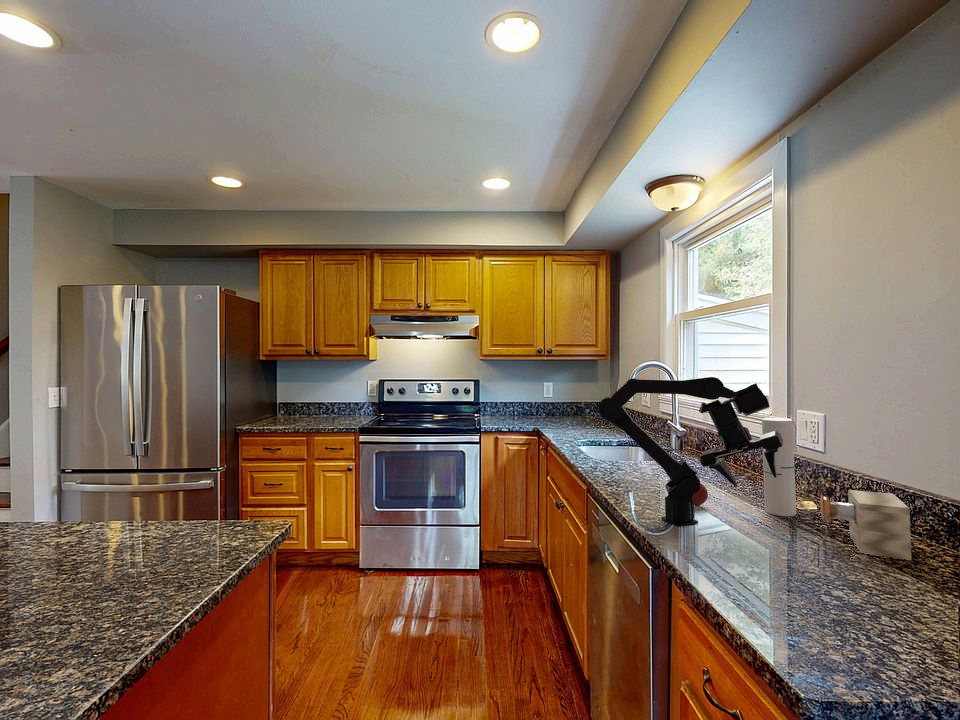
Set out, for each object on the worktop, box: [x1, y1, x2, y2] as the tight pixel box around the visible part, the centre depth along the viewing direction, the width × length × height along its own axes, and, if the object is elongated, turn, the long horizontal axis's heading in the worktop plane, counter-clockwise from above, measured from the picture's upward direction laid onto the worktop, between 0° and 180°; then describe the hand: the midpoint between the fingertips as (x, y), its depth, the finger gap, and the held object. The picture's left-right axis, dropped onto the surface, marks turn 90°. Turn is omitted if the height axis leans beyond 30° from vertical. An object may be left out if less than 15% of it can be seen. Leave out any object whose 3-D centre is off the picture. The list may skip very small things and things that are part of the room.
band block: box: [847, 489, 912, 561], centre depth 102 cm, size 8×12×10 cm, turn 151°
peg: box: [820, 495, 856, 523], centre depth 105 cm, size 9×6×6 cm, turn 61°
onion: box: [693, 482, 709, 508], centre depth 134 cm, size 6×6×8 cm
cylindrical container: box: [761, 417, 797, 517], centre depth 128 cm, size 7×7×25 cm
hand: (755, 481), depth 117 cm, fingers open, 9 cm apart
